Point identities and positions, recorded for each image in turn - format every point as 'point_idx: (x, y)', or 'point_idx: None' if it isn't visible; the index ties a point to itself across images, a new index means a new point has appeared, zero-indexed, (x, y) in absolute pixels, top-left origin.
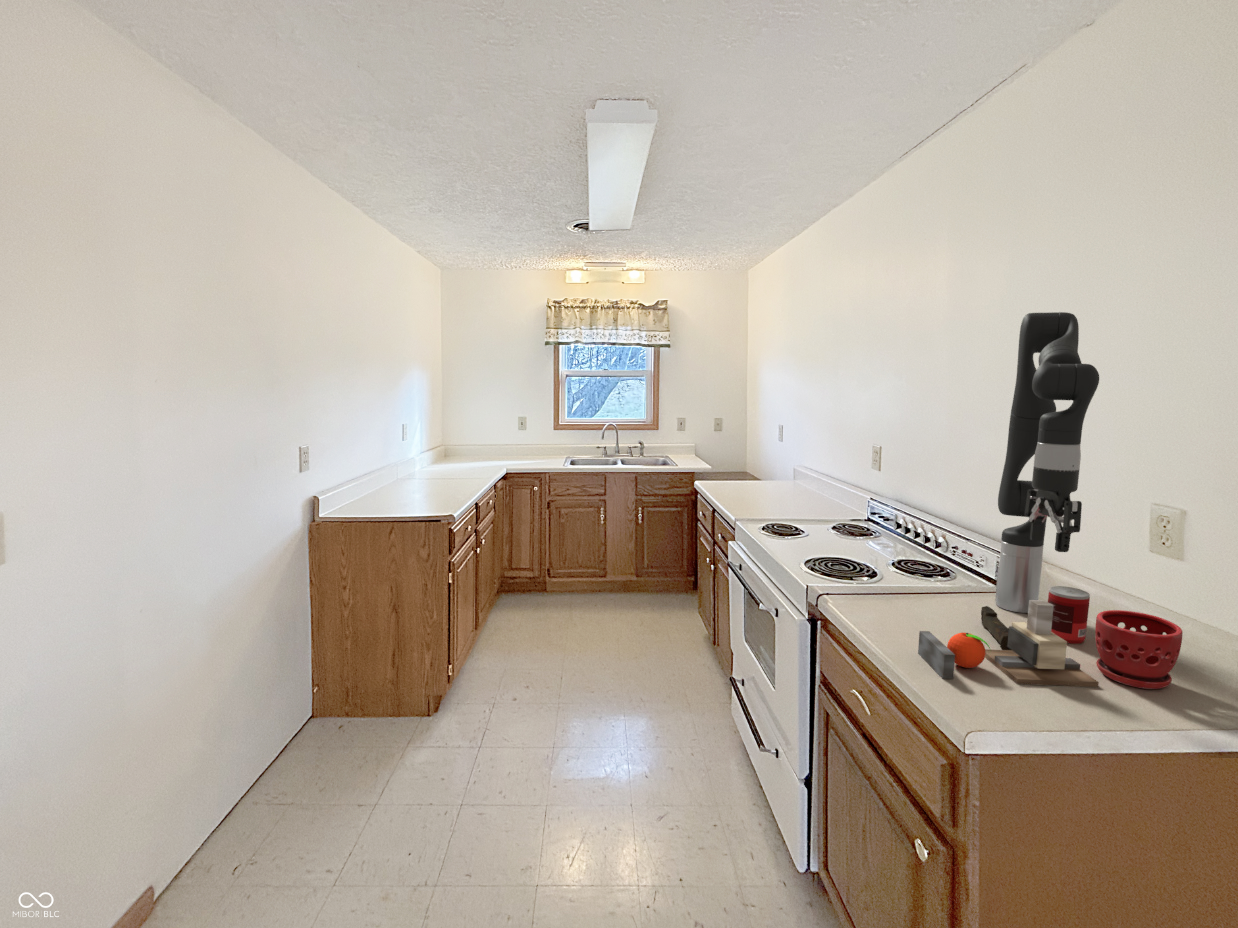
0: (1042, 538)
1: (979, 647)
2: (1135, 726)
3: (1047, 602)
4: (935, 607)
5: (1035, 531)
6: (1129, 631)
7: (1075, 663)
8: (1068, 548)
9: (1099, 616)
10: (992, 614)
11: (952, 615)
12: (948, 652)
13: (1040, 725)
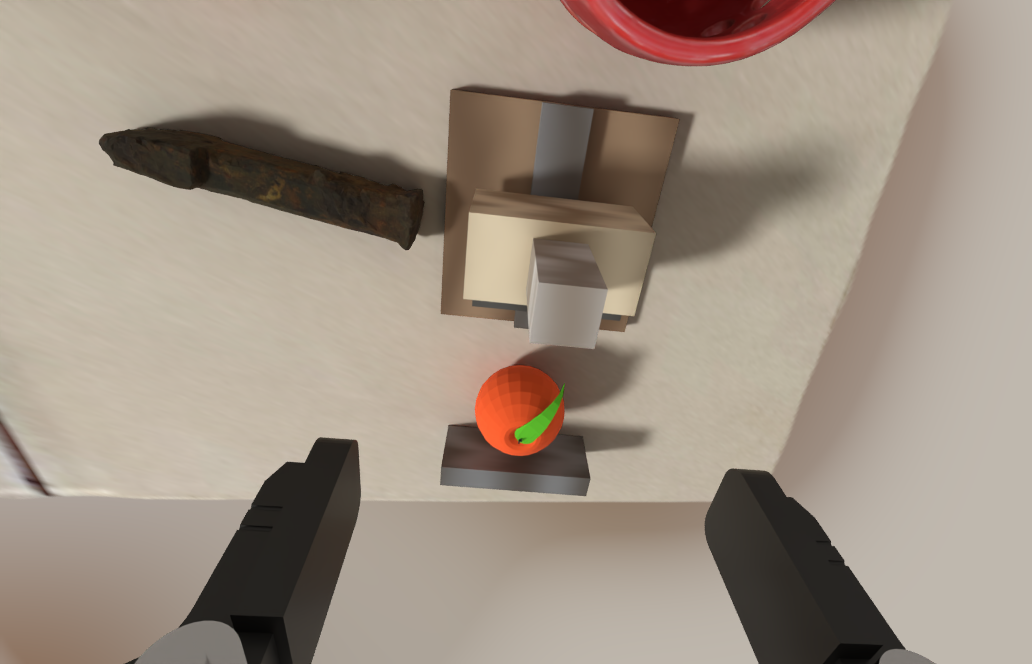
0: (352, 451)
1: (558, 414)
2: (866, 198)
3: (566, 288)
4: (27, 231)
5: (334, 571)
6: (806, 24)
7: (584, 120)
8: (802, 510)
9: (618, 20)
10: (197, 170)
11: (104, 215)
12: (576, 485)
13: (788, 389)
